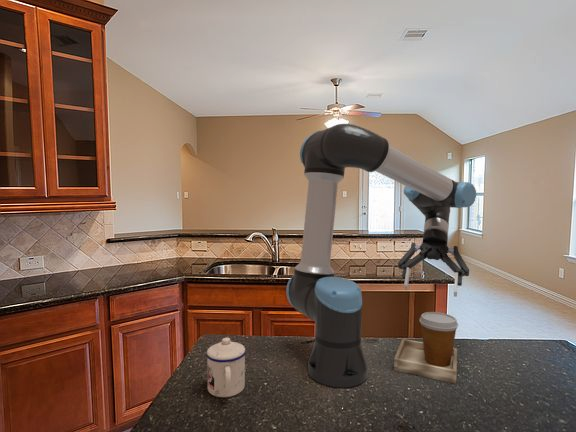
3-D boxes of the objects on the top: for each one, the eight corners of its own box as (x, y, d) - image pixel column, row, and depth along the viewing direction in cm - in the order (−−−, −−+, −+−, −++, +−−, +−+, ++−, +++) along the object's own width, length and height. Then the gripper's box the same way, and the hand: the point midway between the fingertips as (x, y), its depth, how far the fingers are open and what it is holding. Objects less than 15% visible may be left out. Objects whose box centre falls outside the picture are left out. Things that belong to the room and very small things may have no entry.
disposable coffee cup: (462, 371, 86) (463, 324, 85) (422, 368, 88) (423, 322, 87) (451, 354, 95) (452, 312, 95) (415, 352, 97) (416, 310, 96)
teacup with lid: (206, 380, 83) (206, 333, 83) (243, 375, 86) (243, 330, 85) (206, 409, 72) (206, 354, 71) (249, 403, 74) (249, 350, 73)
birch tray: (393, 370, 89) (393, 358, 88) (402, 348, 102) (402, 338, 101) (456, 384, 82) (456, 371, 82) (456, 359, 95) (457, 348, 95)
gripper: (477, 244, 110) (477, 303, 98) (397, 239, 121) (388, 291, 109) (479, 229, 105) (478, 290, 92) (395, 225, 116) (385, 278, 104)
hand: (429, 291), depth 101 cm, fingers open, 13 cm apart
